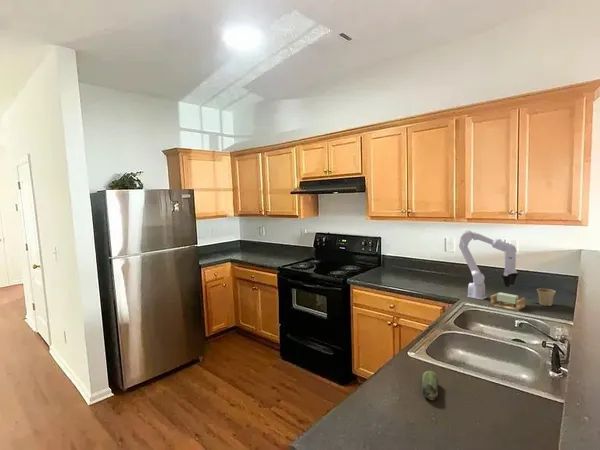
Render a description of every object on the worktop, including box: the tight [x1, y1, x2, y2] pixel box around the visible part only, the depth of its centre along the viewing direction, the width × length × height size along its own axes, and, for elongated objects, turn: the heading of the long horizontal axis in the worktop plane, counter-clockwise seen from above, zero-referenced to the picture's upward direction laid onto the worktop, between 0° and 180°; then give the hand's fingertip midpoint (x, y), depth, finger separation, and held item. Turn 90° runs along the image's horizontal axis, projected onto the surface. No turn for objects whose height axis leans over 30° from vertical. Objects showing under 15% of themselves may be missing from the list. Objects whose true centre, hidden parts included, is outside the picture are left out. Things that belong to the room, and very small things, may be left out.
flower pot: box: [536, 288, 557, 307], centre depth 205 cm, size 9×9×9 cm
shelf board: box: [497, 291, 520, 304], centre depth 203 cm, size 10×5×4 cm, turn 39°
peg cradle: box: [490, 292, 526, 312], centre depth 204 cm, size 15×11×6 cm
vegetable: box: [421, 370, 439, 401], centre depth 116 cm, size 14×5×5 cm, turn 158°
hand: (509, 285), depth 212 cm, fingers open, 7 cm apart
